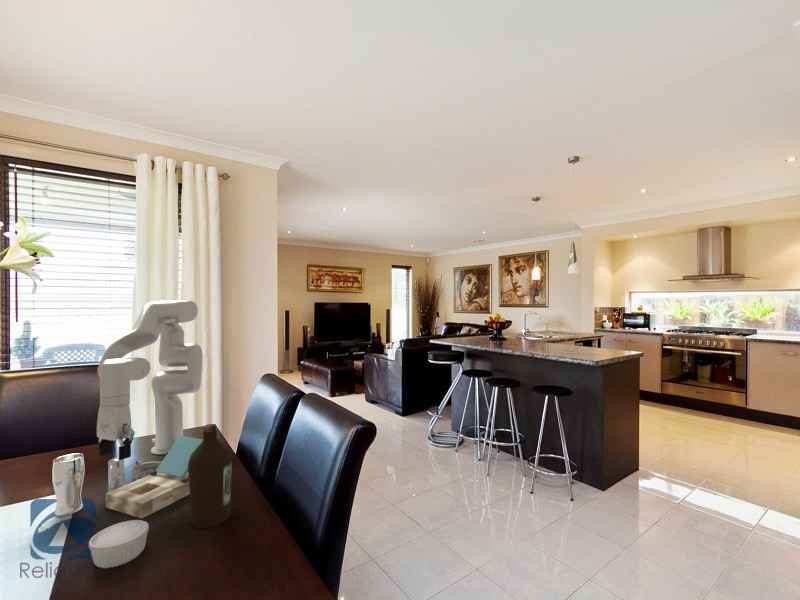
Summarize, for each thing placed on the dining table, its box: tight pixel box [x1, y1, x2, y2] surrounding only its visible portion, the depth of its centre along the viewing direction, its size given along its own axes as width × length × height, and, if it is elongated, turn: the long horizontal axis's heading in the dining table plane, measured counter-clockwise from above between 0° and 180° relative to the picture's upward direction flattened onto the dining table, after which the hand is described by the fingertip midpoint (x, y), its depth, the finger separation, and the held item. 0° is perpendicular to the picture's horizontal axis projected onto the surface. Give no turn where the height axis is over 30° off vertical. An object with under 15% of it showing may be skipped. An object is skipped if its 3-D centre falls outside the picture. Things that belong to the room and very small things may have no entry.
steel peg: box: [107, 456, 125, 492], centre depth 120 cm, size 4×4×10 cm
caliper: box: [131, 460, 163, 481], centre depth 137 cm, size 20×1×6 cm, turn 148°
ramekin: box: [88, 519, 150, 569], centre depth 89 cm, size 11×11×5 cm
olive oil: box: [188, 423, 233, 529], centre depth 104 cm, size 11×11×25 cm
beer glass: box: [51, 452, 86, 517], centre depth 110 cm, size 7×7×15 cm
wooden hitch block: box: [105, 470, 190, 519], centre depth 118 cm, size 16×22×5 cm
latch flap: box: [155, 435, 203, 478], centre depth 124 cm, size 12×12×1 cm
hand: (114, 456), depth 120 cm, fingers open, 9 cm apart
